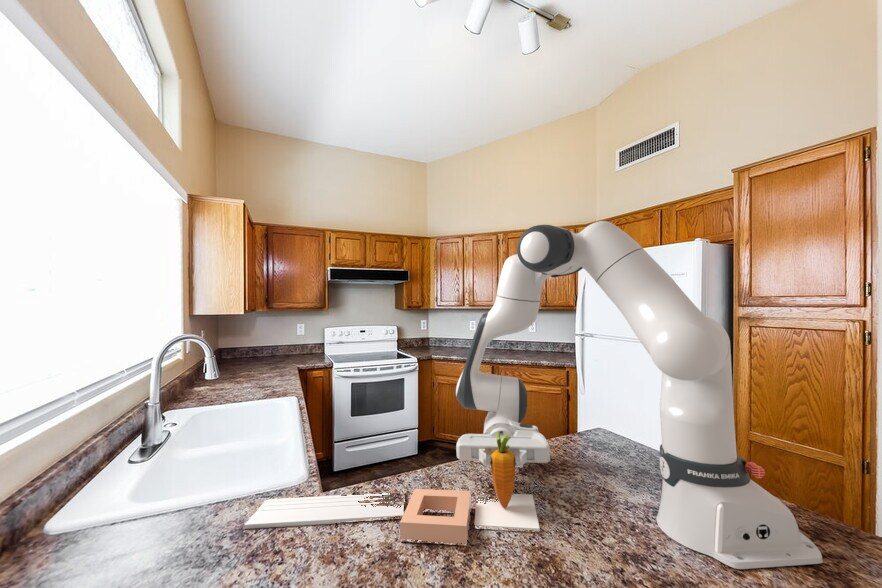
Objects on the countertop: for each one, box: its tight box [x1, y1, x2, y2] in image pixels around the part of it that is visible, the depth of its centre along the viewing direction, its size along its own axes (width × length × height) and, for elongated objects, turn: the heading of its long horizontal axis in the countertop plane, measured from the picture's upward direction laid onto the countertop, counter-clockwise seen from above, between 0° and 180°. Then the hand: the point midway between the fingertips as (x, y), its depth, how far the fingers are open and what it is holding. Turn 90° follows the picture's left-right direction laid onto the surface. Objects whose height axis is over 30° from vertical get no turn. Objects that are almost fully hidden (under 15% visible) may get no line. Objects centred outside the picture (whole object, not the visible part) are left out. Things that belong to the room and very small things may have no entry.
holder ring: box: [399, 488, 472, 543], centre depth 69 cm, size 12×12×4 cm
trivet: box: [474, 493, 541, 532], centre depth 72 cm, size 12×12×1 cm
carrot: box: [490, 433, 516, 509], centre depth 72 cm, size 5×5×15 cm
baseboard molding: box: [244, 490, 407, 530], centre depth 76 cm, size 31×3×12 cm
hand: (503, 463), depth 71 cm, fingers closed on carrot, 5 cm apart
